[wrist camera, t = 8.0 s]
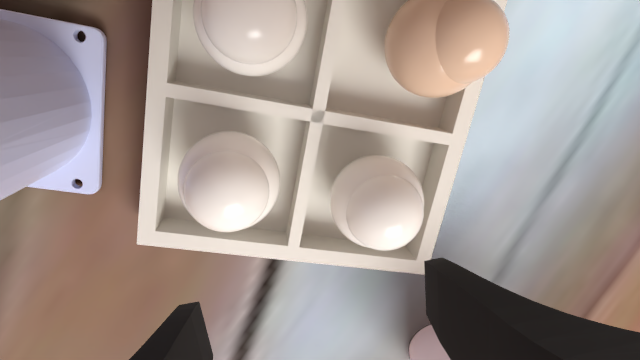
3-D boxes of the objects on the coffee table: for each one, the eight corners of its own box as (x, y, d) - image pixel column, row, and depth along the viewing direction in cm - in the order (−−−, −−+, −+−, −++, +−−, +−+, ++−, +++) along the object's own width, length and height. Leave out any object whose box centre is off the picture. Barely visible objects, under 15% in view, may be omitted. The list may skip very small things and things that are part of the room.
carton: (149, 225, 21) (136, 244, 19) (173, -94, 17) (159, -116, 15) (412, 255, 24) (426, 275, 22) (487, -14, 20) (513, -23, 17)
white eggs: (184, 203, 20) (156, 251, 15) (208, -43, 17) (183, -86, 12) (394, 229, 22) (431, 280, 17) (450, 14, 19) (516, -2, 14)
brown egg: (391, 118, 19) (489, 117, 15) (347, 35, 17) (446, 5, 13) (441, 66, 21) (544, 52, 17) (407, -15, 19) (514, -57, 14)
